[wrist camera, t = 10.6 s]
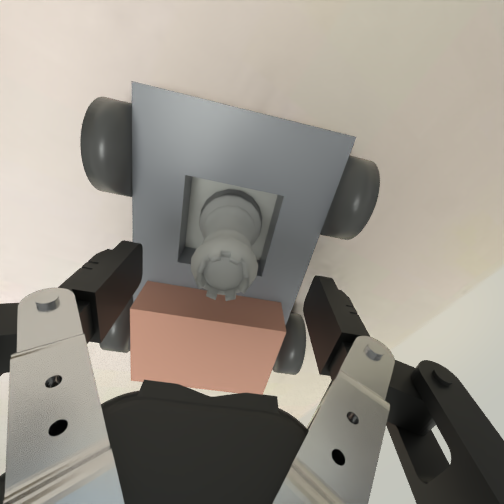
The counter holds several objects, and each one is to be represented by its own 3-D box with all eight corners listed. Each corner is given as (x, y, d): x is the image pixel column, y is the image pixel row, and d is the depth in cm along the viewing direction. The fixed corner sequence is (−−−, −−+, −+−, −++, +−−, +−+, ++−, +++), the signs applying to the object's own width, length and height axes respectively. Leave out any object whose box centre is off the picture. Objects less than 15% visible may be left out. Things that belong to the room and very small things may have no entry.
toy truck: (361, 139, 17) (414, 149, 11) (281, 347, 26) (290, 407, 20) (124, 81, 15) (56, 59, 10) (128, 326, 24) (95, 384, 19)
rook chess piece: (227, 173, 17) (214, 212, 10) (274, 215, 18) (292, 275, 11) (188, 220, 18) (153, 282, 11) (235, 255, 20) (229, 330, 13)
